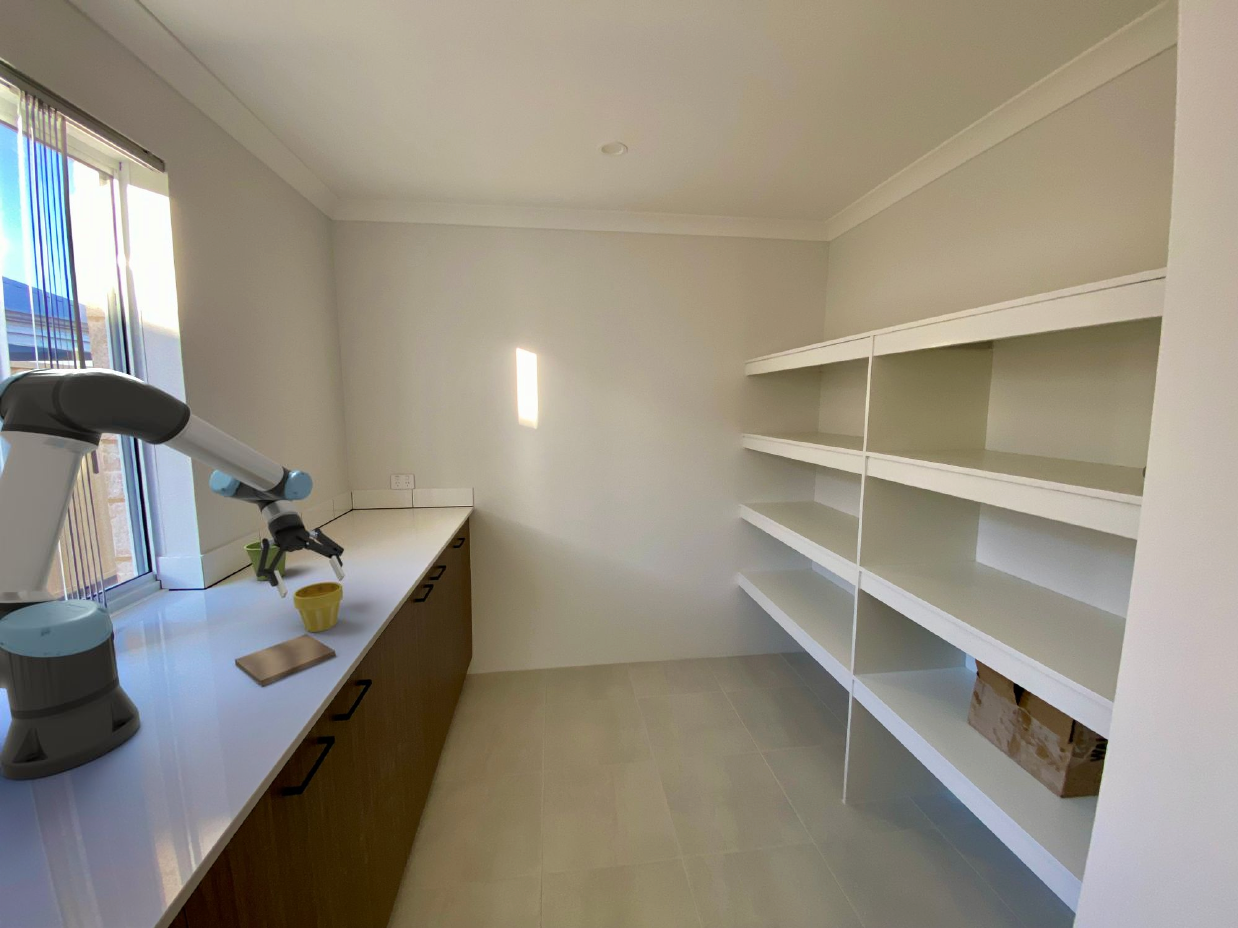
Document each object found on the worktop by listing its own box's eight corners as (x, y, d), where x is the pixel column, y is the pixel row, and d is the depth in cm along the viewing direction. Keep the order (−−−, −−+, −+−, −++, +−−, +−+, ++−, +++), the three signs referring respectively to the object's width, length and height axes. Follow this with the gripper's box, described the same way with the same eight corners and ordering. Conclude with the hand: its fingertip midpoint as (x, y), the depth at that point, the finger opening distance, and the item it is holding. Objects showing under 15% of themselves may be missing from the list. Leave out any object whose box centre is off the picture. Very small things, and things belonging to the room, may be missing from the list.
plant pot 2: (322, 637, 115) (319, 599, 114) (286, 633, 117) (282, 595, 116) (354, 618, 125) (351, 583, 124) (320, 615, 127) (317, 580, 126)
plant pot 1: (269, 569, 162) (266, 537, 161) (301, 571, 160) (298, 538, 159) (237, 582, 150) (233, 548, 149) (271, 584, 149) (267, 549, 147)
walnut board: (261, 686, 95) (260, 680, 95) (235, 664, 103) (234, 659, 103) (335, 655, 107) (335, 650, 107) (306, 638, 115) (306, 633, 114)
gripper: (328, 519, 142) (358, 579, 135) (224, 540, 121) (254, 611, 115) (336, 504, 138) (367, 564, 132) (229, 522, 118) (260, 594, 111)
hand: (314, 586), depth 123 cm, fingers open, 13 cm apart
